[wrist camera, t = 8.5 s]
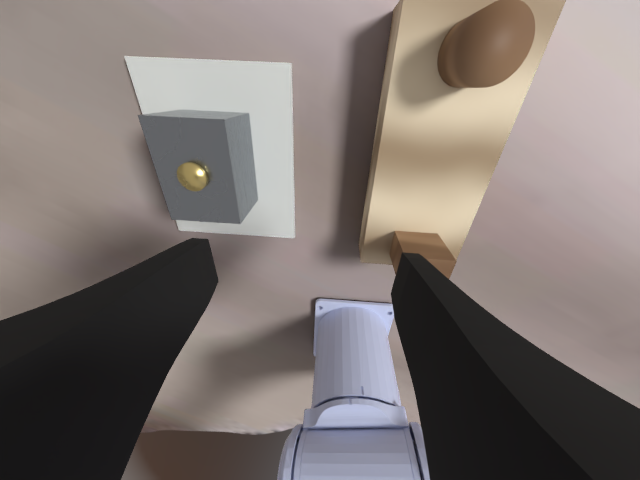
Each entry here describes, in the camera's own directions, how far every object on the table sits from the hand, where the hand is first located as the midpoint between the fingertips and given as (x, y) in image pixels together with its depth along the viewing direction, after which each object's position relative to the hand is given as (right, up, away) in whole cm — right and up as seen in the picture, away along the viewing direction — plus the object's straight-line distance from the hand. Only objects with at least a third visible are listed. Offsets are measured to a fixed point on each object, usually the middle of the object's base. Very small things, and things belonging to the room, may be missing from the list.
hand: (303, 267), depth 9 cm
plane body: (+8, +7, +8) cm, 13 cm away
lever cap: (-6, +7, +8) cm, 12 cm away
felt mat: (-6, +7, +9) cm, 13 cm away
